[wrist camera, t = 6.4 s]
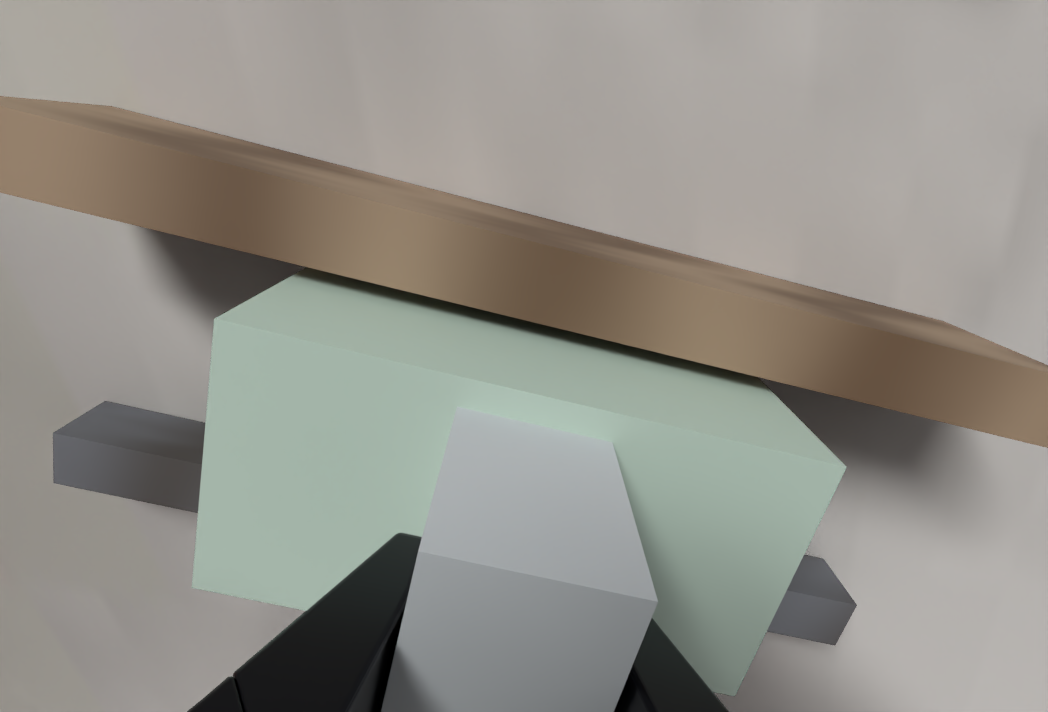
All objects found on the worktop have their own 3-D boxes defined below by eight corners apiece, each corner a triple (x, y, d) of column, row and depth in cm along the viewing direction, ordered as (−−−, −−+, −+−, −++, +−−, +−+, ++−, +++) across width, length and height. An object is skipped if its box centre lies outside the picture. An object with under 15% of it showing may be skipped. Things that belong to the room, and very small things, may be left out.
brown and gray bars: (943, 321, 16) (1091, 383, 12) (804, 596, 19) (883, 723, 15) (111, 106, 15) (-60, 91, 10) (104, 446, 18) (-30, 542, 13)
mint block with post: (741, 360, 14) (1014, 636, 6) (673, 533, 16) (821, 926, 8) (323, 258, 14) (25, 423, 6) (296, 449, 15) (36, 793, 7)
